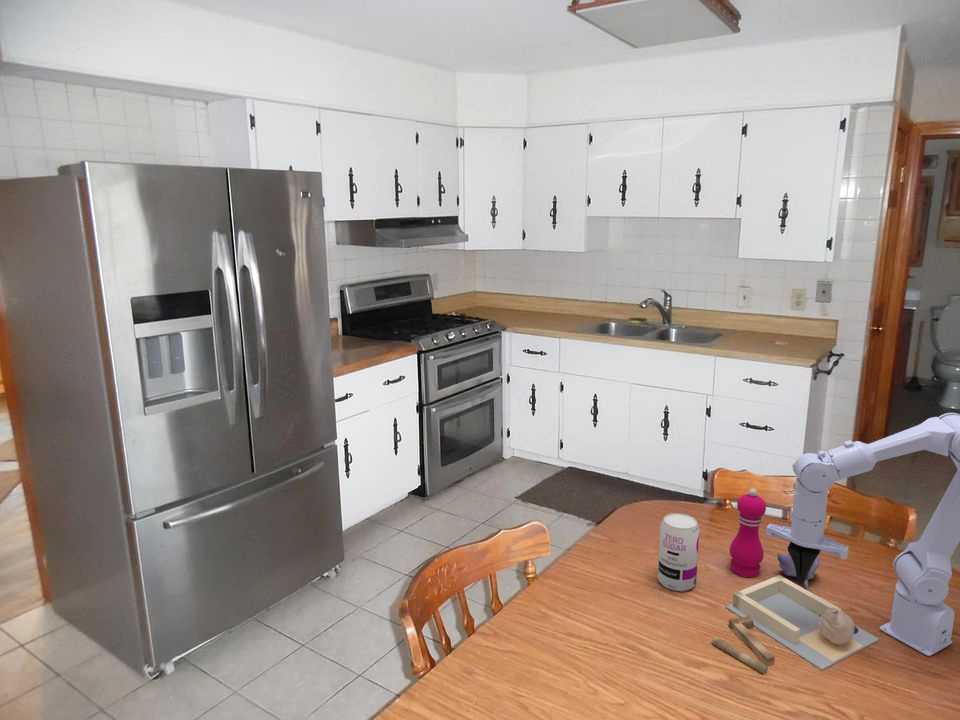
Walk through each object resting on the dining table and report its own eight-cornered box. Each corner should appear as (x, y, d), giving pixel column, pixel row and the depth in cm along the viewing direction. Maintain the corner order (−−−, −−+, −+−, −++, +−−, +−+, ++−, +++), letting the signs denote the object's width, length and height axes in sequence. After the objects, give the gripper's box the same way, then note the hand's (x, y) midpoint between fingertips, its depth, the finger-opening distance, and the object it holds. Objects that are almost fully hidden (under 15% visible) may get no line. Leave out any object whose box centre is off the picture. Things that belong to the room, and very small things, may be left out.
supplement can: (691, 573, 153) (695, 512, 150) (699, 593, 146) (703, 530, 142) (655, 571, 154) (658, 511, 151) (660, 592, 146) (664, 529, 143)
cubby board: (879, 640, 130) (881, 626, 129) (821, 670, 122) (823, 655, 121) (780, 584, 148) (781, 572, 148) (725, 607, 141) (726, 594, 140)
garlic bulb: (808, 633, 131) (812, 597, 129) (832, 625, 134) (837, 589, 132) (837, 654, 125) (842, 616, 123) (862, 645, 128) (867, 608, 126)
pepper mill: (764, 580, 150) (773, 497, 145) (729, 576, 152) (738, 494, 147) (759, 563, 157) (767, 484, 152) (726, 559, 159) (734, 480, 154)
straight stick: (762, 675, 121) (766, 673, 122) (763, 667, 121) (768, 664, 122) (710, 644, 129) (714, 642, 130) (711, 636, 129) (716, 634, 130)
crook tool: (787, 662, 124) (788, 654, 124) (766, 666, 123) (767, 658, 123) (748, 623, 136) (748, 616, 135) (728, 626, 135) (729, 619, 134)
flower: (834, 570, 142) (809, 533, 149) (797, 585, 143) (773, 547, 150) (836, 589, 148) (811, 552, 155) (799, 603, 149) (777, 565, 156)
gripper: (856, 519, 128) (848, 583, 131) (777, 498, 138) (771, 558, 141) (845, 533, 123) (837, 599, 126) (764, 510, 133) (759, 572, 136)
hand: (802, 578), depth 133 cm, fingers closed
